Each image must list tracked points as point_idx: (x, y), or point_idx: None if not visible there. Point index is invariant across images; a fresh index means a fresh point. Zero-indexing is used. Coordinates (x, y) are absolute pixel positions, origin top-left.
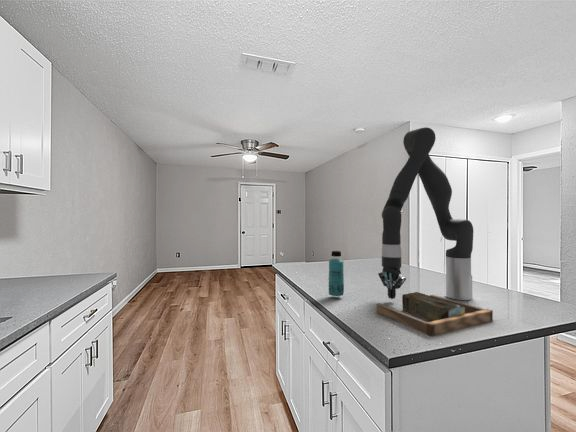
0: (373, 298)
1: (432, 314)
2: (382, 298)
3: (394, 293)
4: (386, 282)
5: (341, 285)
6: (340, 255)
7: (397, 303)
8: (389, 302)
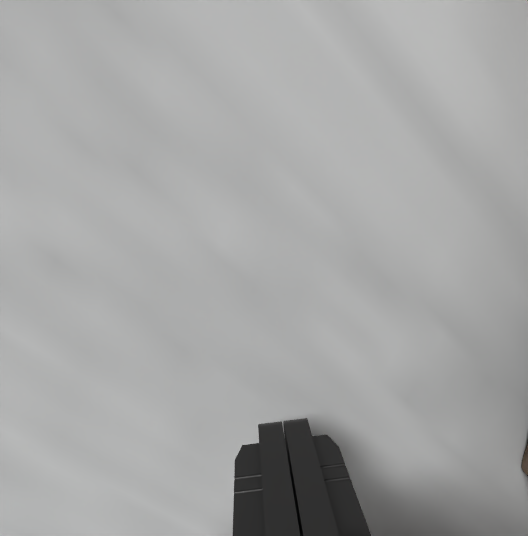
0: (93, 506)
1: None
2: (121, 421)
3: (349, 501)
4: None
5: None
6: None
7: (346, 388)
8: None
